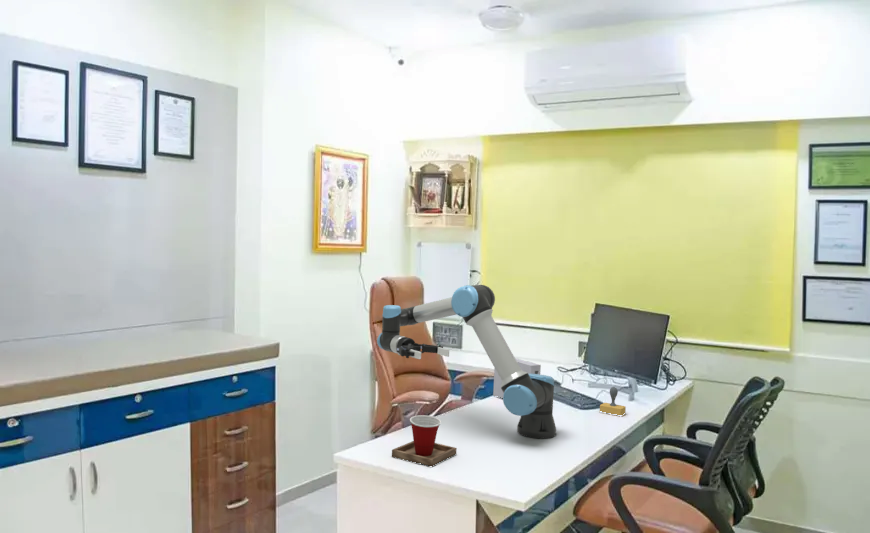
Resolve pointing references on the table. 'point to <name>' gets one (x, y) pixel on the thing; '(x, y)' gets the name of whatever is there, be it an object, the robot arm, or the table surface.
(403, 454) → the cup tray
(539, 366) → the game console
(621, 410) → the rubber stamp
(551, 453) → the table surface
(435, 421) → the plastic cup
